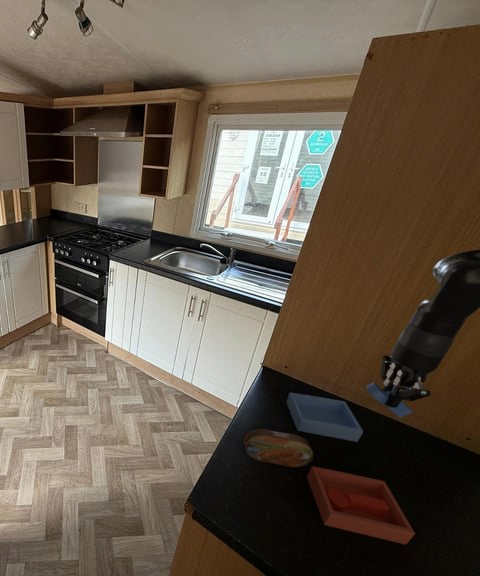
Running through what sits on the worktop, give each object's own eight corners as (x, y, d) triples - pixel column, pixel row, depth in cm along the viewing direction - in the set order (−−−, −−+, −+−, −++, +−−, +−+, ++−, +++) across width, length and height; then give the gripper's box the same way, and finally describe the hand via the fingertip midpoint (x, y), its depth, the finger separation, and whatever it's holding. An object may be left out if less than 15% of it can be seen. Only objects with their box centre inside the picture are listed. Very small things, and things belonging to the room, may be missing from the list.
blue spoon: (392, 408, 78) (405, 403, 76) (402, 421, 74) (416, 416, 73) (362, 383, 77) (375, 377, 75) (371, 395, 73) (384, 389, 72)
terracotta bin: (377, 492, 72) (384, 481, 70) (406, 544, 62) (415, 533, 61) (306, 476, 75) (311, 465, 73) (324, 524, 66) (330, 513, 64)
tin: (242, 457, 79) (249, 434, 75) (240, 446, 82) (247, 424, 78) (308, 471, 76) (319, 448, 72) (303, 459, 79) (314, 436, 75)
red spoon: (376, 503, 69) (381, 495, 68) (386, 522, 65) (392, 514, 64) (321, 491, 71) (325, 482, 70) (328, 509, 68) (333, 501, 66)
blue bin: (340, 411, 93) (345, 401, 91) (357, 442, 83) (363, 431, 81) (286, 402, 96) (289, 392, 94) (297, 430, 86) (301, 420, 85)
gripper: (468, 368, 61) (424, 429, 69) (421, 330, 73) (388, 385, 81) (423, 362, 62) (385, 422, 70) (384, 325, 74) (355, 380, 82)
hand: (387, 402), depth 75 cm, fingers closed on blue spoon, 1 cm apart
